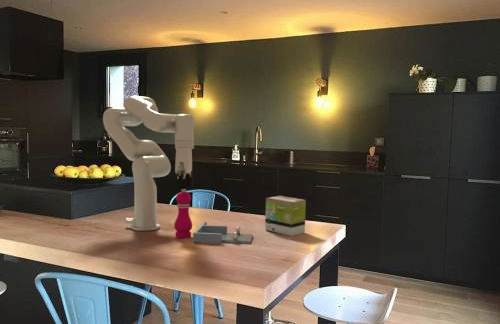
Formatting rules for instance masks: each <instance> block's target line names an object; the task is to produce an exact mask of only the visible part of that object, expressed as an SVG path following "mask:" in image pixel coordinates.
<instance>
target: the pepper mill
mask: <svg viewBox="0 0 500 324" xmlns="http://www.w3.org/2000/svg"><path fill="white" fill-rule="evenodd" d="M175 196H176V197H175V200H176V202H177V204H176V205H177V209H178V212H177V217H176V218H175V222H174V226H173V228H174V230H175V234H174V236H175V238H176V239H189V238H191V237H192V232H191V231H192V228H193V222H192V219H191V217H190V214H189V213H190V212H189V209H190V208H191V206H190V205H191V203H190V202H191V200H192V196H191V194H190V192H187V188H186V189H181V191H180V192H178V193H177V194H176V195H175Z"/></svg>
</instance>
